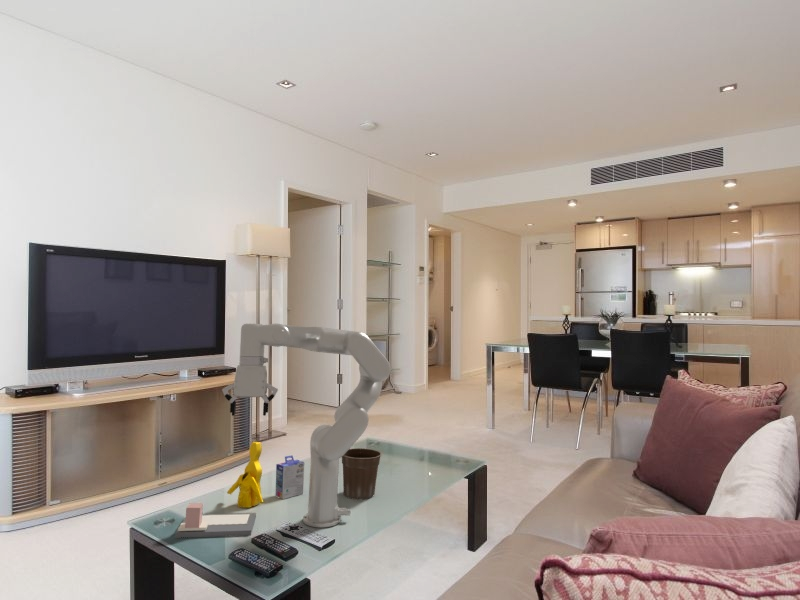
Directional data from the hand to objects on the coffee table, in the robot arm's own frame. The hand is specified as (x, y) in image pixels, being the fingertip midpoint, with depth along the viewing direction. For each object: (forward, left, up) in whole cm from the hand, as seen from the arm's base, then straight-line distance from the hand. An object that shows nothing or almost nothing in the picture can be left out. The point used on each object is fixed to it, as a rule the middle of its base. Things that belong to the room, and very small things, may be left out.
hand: (249, 414), depth 158 cm
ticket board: (+8, -2, -36) cm, 37 cm away
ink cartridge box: (-13, -31, -36) cm, 49 cm away
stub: (+14, +3, -34) cm, 37 cm away
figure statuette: (+1, -21, -36) cm, 42 cm away
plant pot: (-40, -30, -36) cm, 62 cm away
